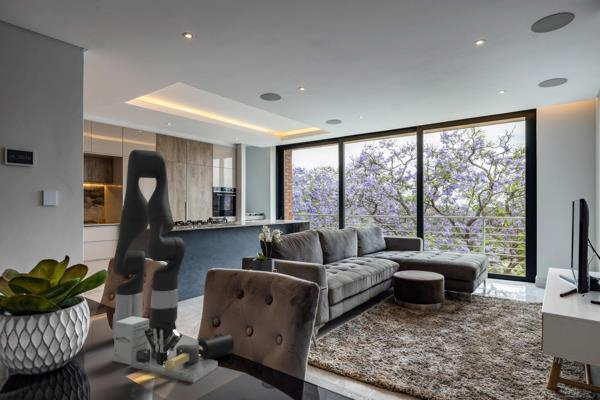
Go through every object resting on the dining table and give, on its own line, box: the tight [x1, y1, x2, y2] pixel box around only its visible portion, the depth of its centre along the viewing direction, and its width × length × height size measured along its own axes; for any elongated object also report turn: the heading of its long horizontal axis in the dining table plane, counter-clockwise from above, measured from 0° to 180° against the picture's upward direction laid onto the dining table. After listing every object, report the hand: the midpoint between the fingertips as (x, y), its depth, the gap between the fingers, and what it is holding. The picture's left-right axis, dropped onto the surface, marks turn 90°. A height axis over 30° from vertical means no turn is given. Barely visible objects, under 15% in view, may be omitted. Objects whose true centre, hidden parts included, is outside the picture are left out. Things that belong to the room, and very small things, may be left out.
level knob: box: [165, 344, 200, 371], centre depth 100 cm, size 12×4×4 cm, turn 157°
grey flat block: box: [130, 340, 219, 384], centre depth 105 cm, size 24×12×9 cm, turn 67°
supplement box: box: [113, 316, 150, 366], centre depth 110 cm, size 7×7×13 cm
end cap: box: [197, 333, 235, 360], centre depth 112 cm, size 10×7×7 cm
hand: (161, 364), depth 99 cm, fingers closed
